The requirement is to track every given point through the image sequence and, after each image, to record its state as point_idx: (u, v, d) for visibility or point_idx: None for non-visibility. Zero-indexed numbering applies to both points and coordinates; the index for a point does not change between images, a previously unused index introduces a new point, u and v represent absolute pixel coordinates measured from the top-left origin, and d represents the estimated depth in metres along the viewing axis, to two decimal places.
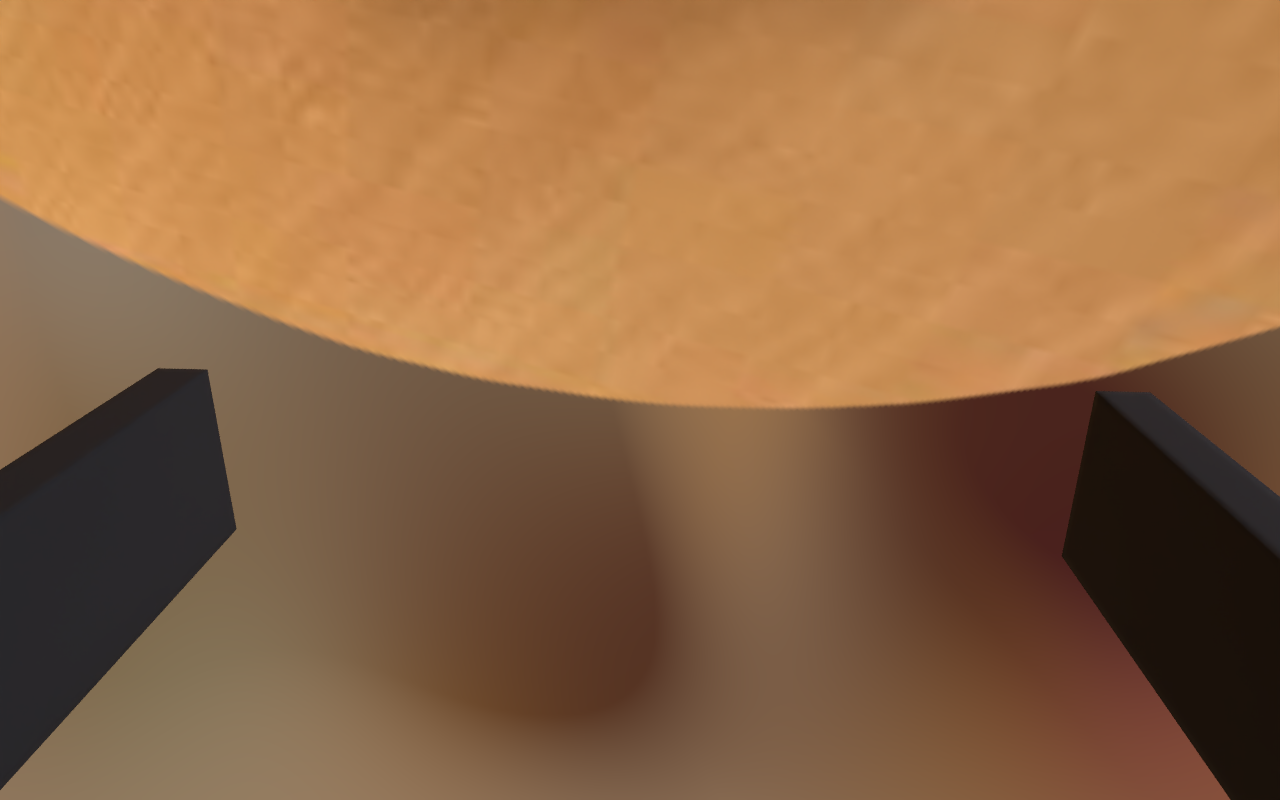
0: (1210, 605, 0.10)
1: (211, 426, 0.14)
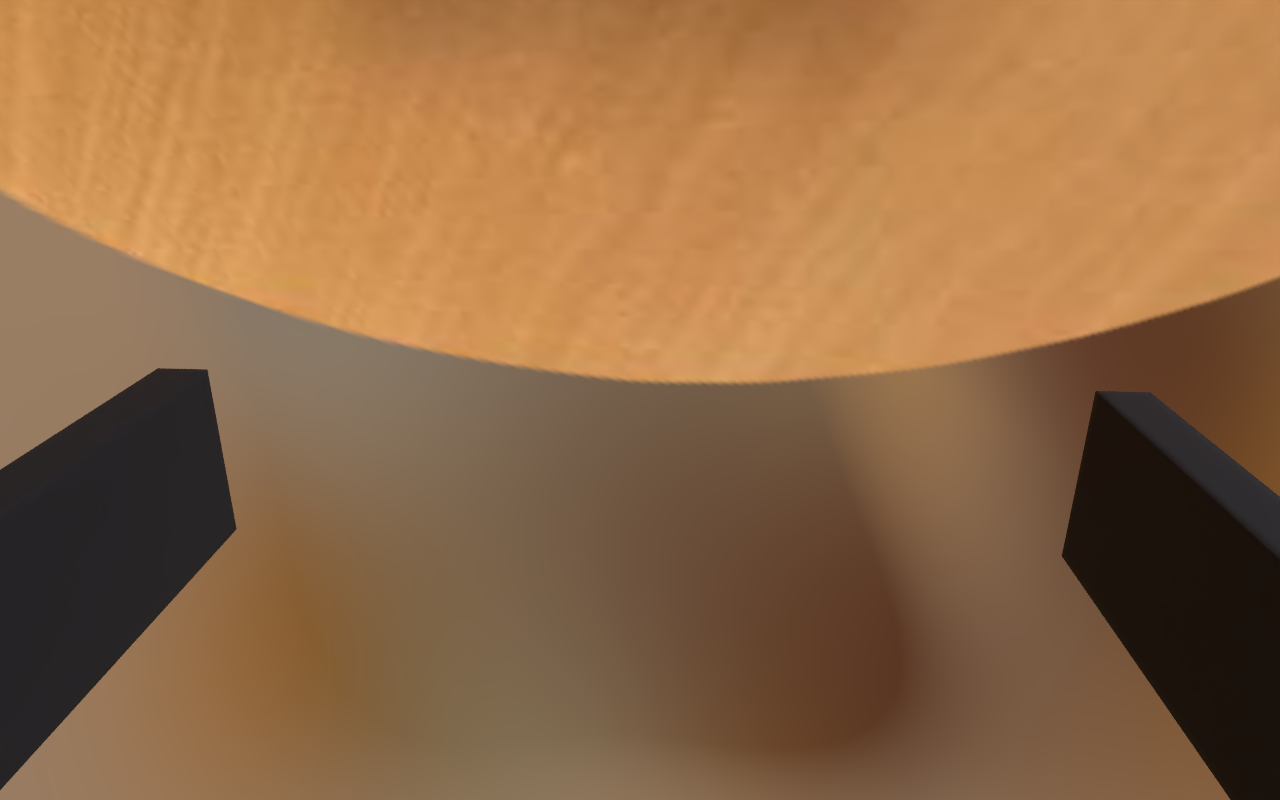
0: (1210, 605, 0.10)
1: (211, 426, 0.14)
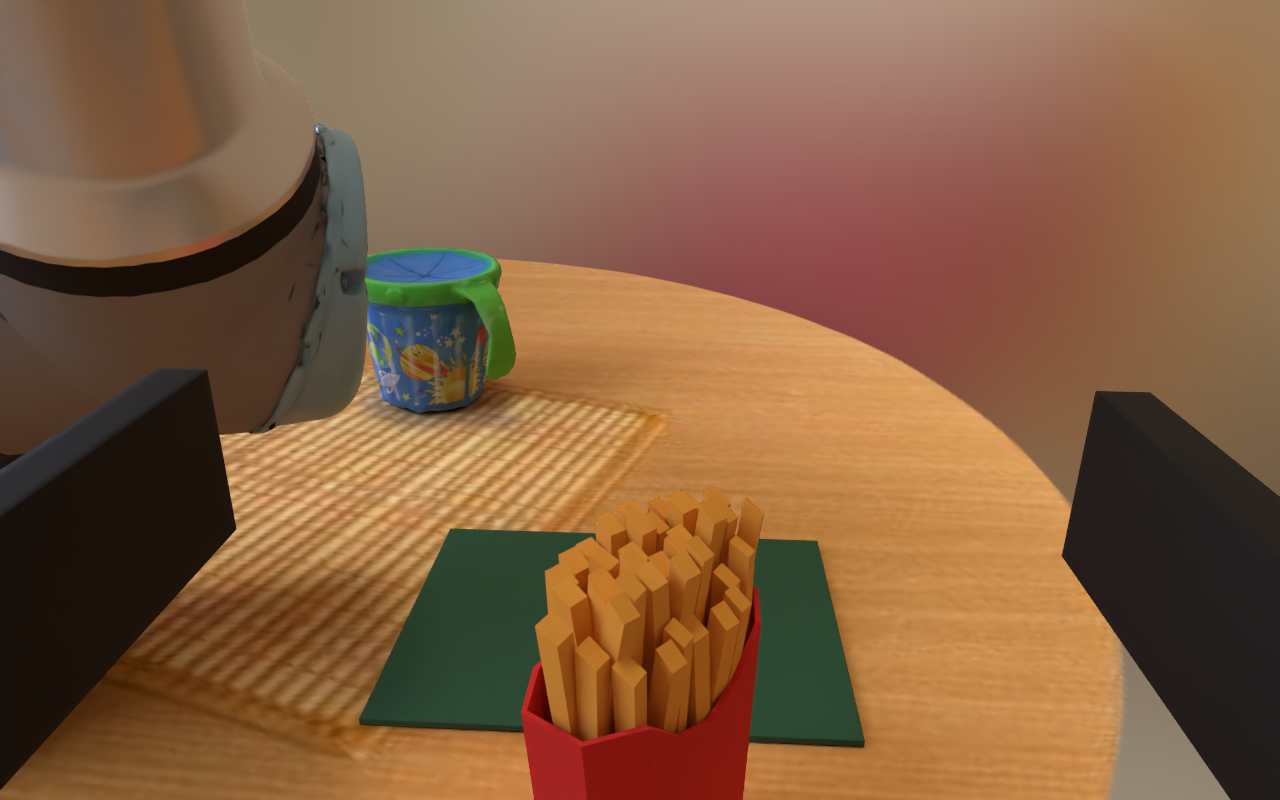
0: (1210, 605, 0.10)
1: (211, 426, 0.14)
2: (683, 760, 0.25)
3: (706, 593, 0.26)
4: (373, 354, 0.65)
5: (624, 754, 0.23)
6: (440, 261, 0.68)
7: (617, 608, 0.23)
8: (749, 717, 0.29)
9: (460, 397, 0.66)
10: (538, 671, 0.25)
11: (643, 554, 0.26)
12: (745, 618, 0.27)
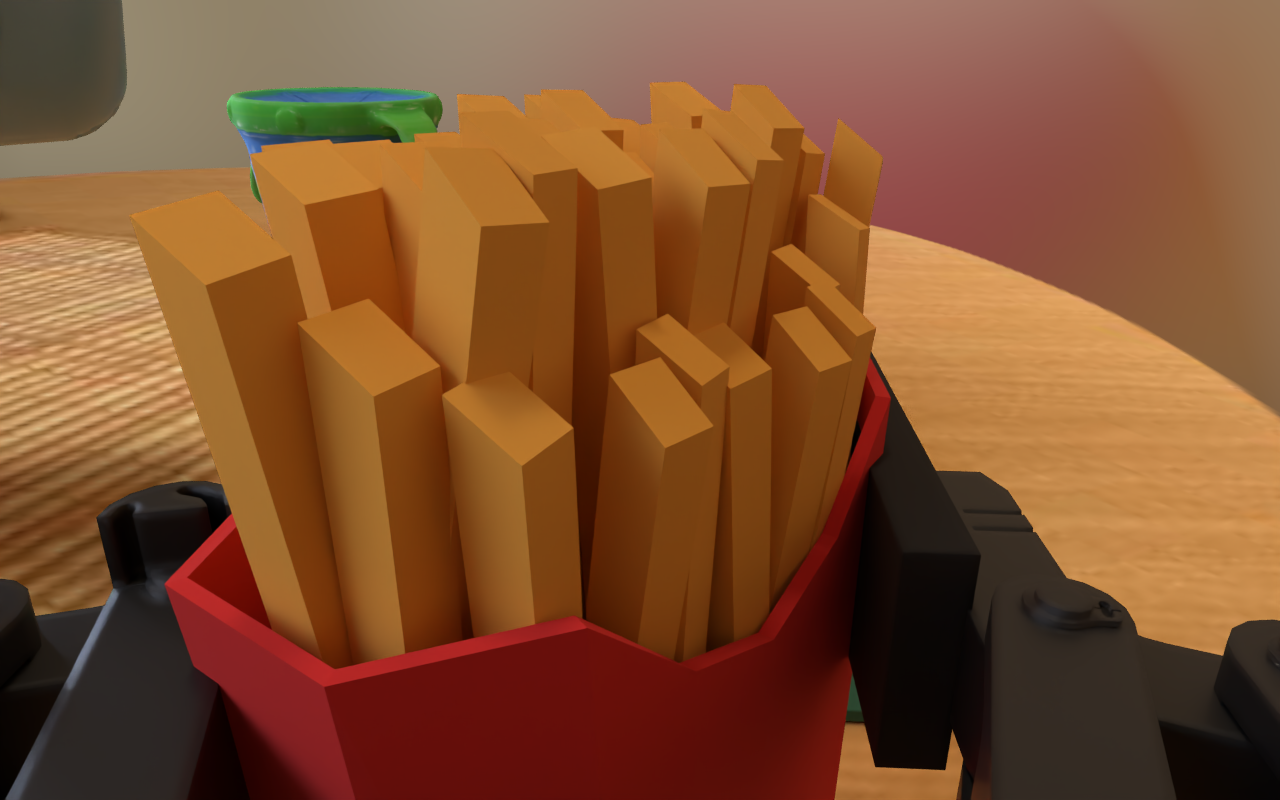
0: None
1: None
2: (699, 743, 0.09)
3: (759, 280, 0.09)
4: None
5: (498, 717, 0.07)
6: (363, 99, 0.52)
7: (462, 183, 0.06)
8: None
9: None
10: None
11: None
12: (861, 363, 0.10)
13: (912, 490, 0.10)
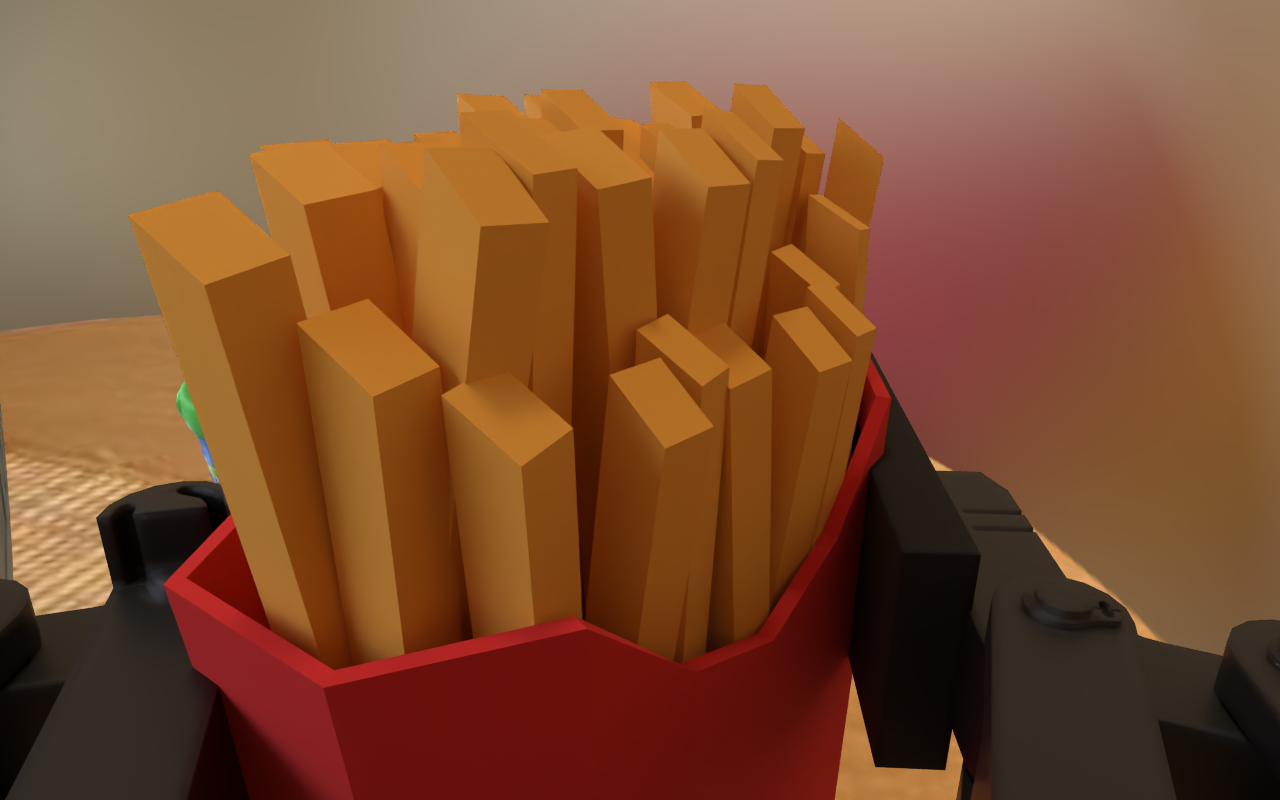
0: None
1: None
2: (699, 744, 0.09)
3: (759, 281, 0.09)
4: None
5: (498, 719, 0.07)
6: None
7: (462, 183, 0.06)
8: None
9: None
10: None
11: None
12: (861, 363, 0.10)
13: (912, 490, 0.10)
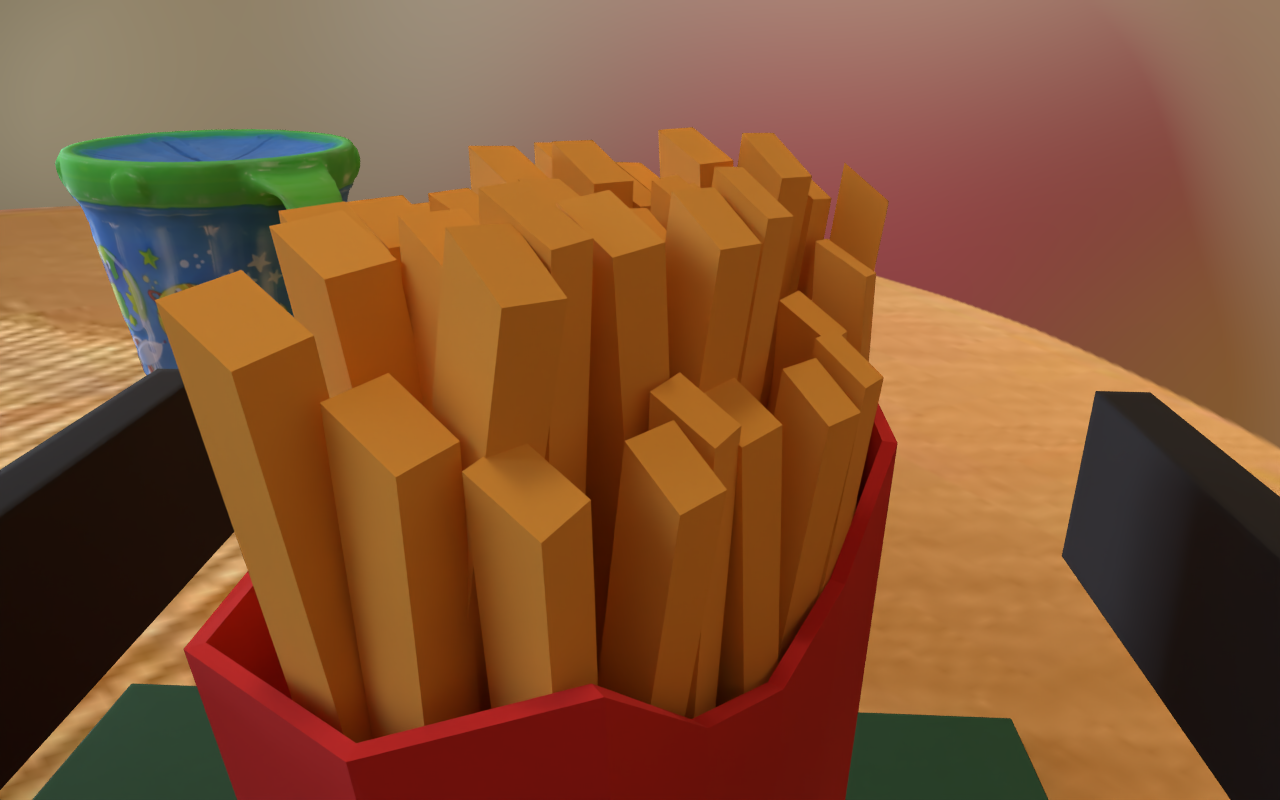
0: (1210, 605, 0.10)
1: None
2: (711, 796, 0.09)
3: (769, 333, 0.10)
4: (120, 306, 0.36)
5: (516, 785, 0.07)
6: (258, 147, 0.39)
7: (482, 261, 0.06)
8: (859, 684, 0.12)
9: None
10: None
11: None
12: (868, 412, 0.10)
13: None
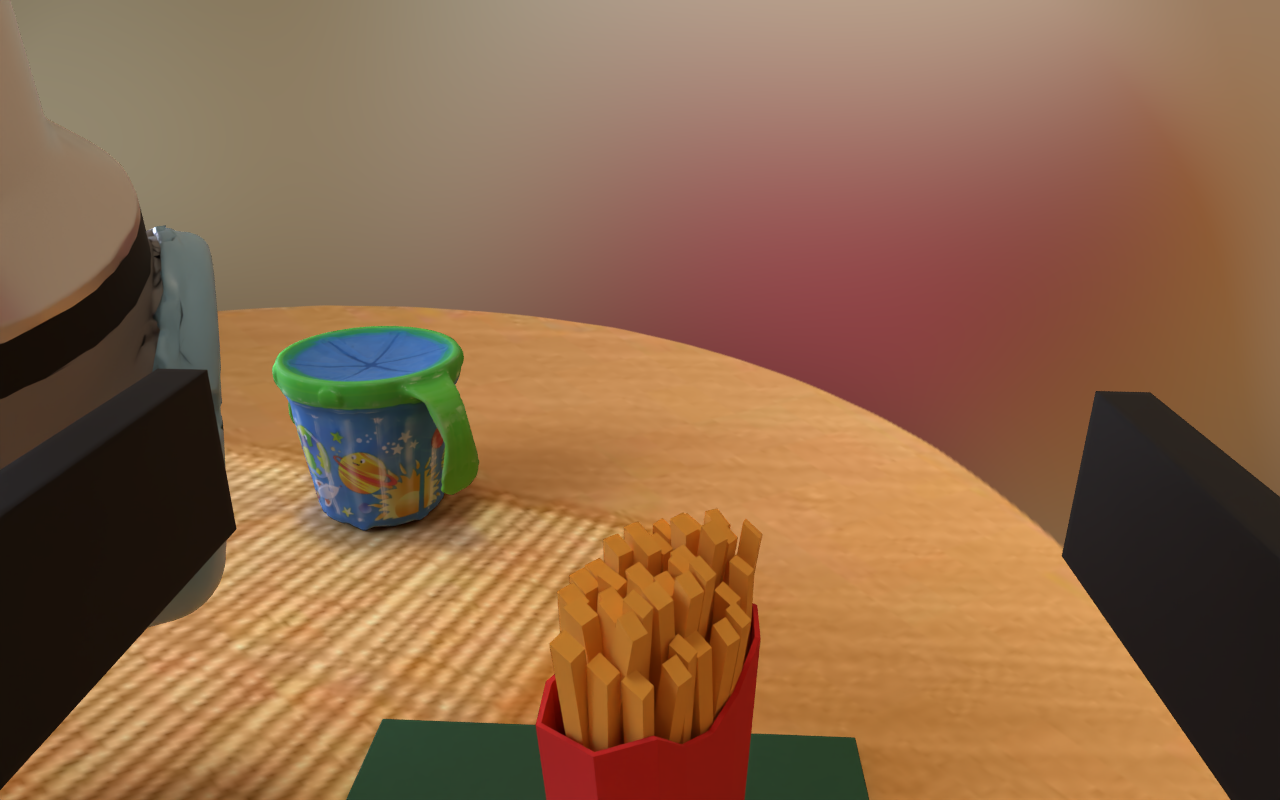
0: (1210, 605, 0.10)
1: (211, 426, 0.14)
2: (688, 769, 0.27)
3: (708, 610, 0.28)
4: (308, 460, 0.54)
5: (633, 763, 0.25)
6: (391, 343, 0.57)
7: (626, 626, 0.25)
8: (749, 727, 0.30)
9: (414, 510, 0.55)
10: (550, 685, 0.27)
11: (649, 574, 0.28)
12: (745, 633, 0.28)
13: None
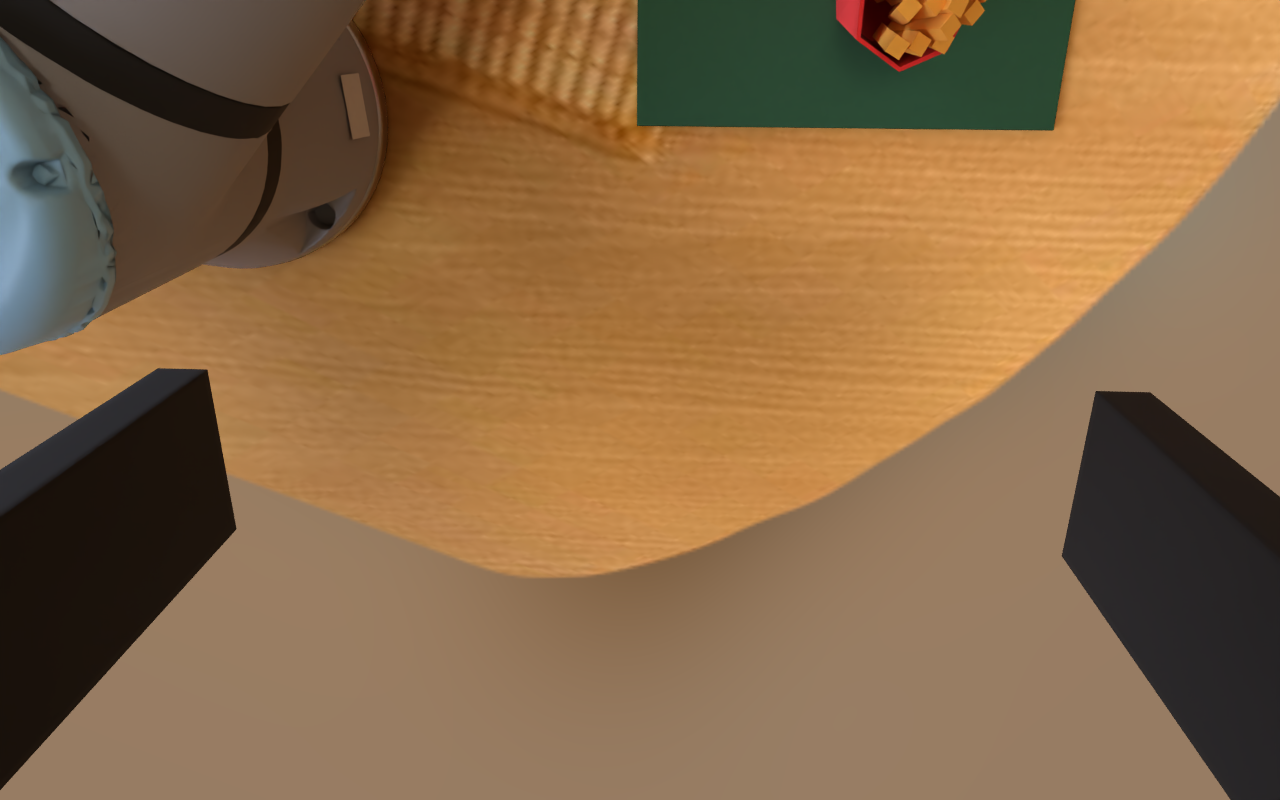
0: (1210, 605, 0.10)
1: (212, 426, 0.14)
2: None
3: None
4: None
5: None
6: None
7: (946, 29, 0.31)
8: None
9: None
10: None
11: None
12: None
13: None
